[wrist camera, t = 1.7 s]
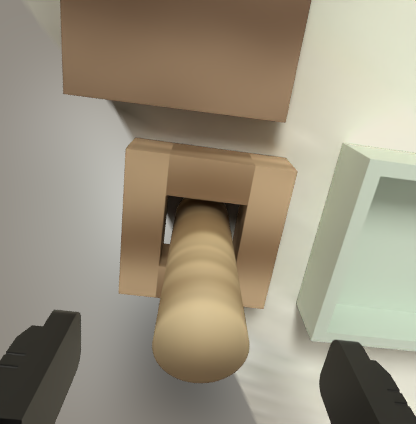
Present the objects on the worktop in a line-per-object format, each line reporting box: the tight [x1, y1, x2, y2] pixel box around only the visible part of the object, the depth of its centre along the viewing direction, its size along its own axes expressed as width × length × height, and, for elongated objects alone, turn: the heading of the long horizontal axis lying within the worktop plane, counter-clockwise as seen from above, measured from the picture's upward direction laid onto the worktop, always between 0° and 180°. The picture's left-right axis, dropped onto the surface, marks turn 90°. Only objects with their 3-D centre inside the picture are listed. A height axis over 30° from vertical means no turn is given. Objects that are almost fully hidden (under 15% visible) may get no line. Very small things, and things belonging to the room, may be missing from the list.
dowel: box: [152, 198, 249, 383], centre depth 15 cm, size 3×3×10 cm
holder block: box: [119, 138, 298, 309], centre depth 19 cm, size 8×8×2 cm
